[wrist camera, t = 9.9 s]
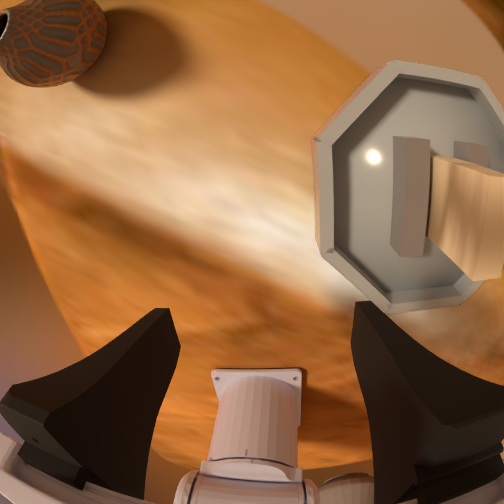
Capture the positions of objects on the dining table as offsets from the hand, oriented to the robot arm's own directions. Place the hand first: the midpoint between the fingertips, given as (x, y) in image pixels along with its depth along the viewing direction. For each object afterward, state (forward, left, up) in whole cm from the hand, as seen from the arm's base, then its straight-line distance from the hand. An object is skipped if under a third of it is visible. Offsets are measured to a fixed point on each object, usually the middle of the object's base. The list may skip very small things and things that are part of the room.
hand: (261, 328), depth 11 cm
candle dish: (+3, -11, -9) cm, 15 cm away
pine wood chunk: (+3, -11, -8) cm, 14 cm away
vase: (+16, +12, -10) cm, 22 cm away
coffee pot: (-38, -10, -10) cm, 40 cm away
